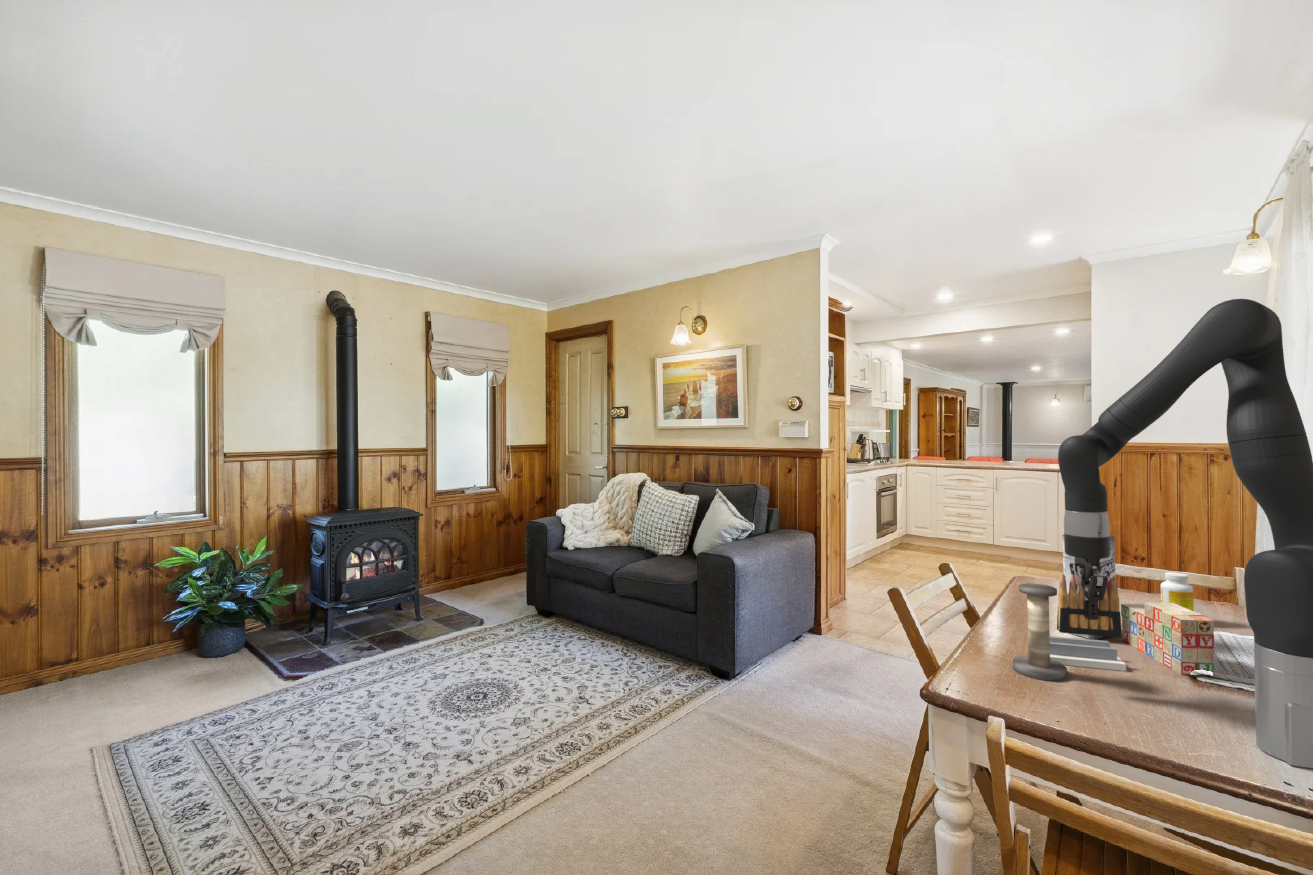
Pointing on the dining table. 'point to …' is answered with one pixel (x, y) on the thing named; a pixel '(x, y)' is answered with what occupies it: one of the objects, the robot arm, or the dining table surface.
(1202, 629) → the stack of blocks
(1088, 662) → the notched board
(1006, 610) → the dining table surface
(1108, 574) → the juice carton
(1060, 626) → the ammunition clip
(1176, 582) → the supplement bottle
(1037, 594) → the bobbin post
